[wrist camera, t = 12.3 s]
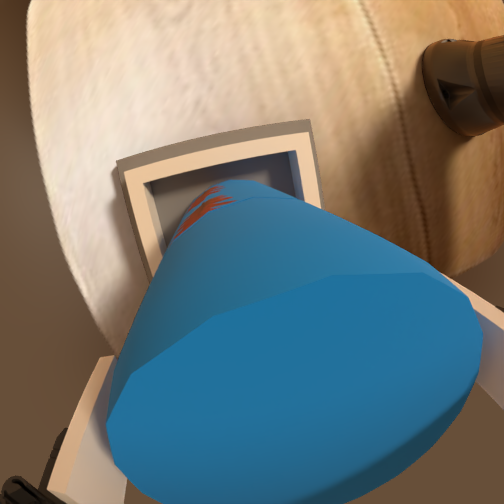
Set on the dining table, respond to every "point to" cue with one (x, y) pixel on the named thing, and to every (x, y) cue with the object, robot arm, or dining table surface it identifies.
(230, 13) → the dining table surface
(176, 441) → the thermos
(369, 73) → the dining table surface
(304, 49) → the dining table surface
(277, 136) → the holder
